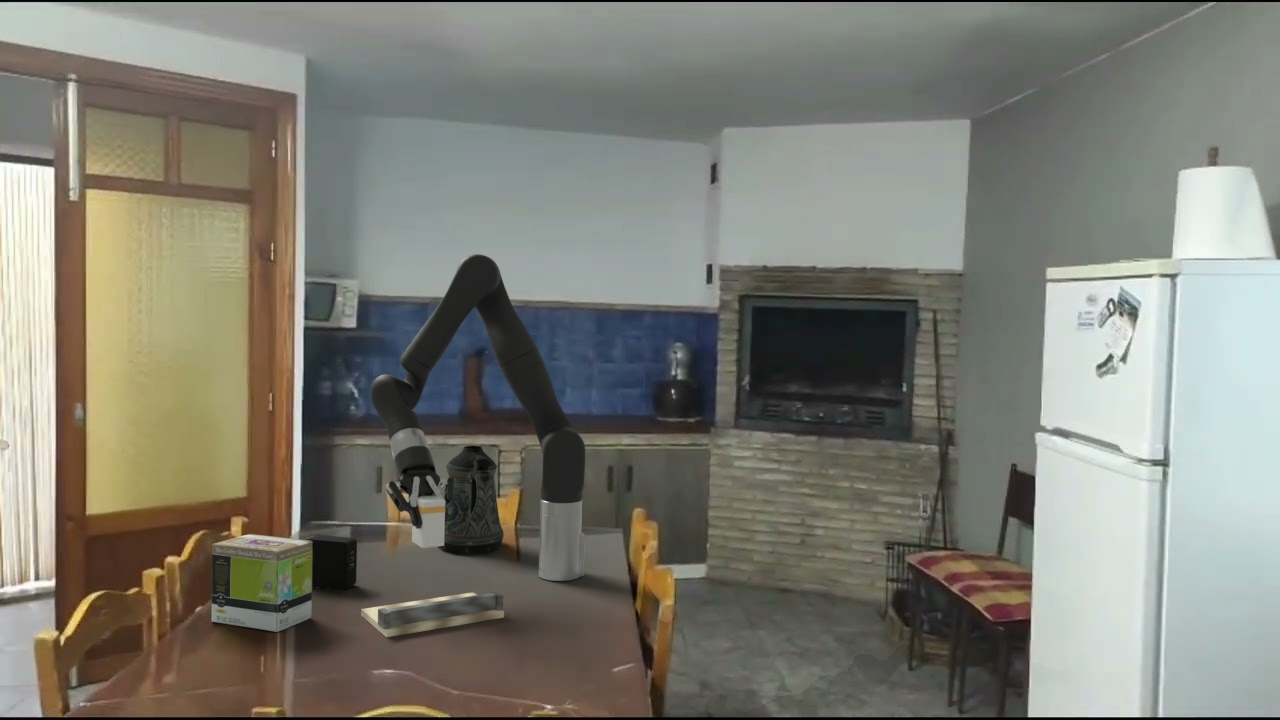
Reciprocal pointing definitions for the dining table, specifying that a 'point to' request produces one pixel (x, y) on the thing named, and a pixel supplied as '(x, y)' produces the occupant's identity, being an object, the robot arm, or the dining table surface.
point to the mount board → (428, 624)
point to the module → (430, 522)
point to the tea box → (262, 582)
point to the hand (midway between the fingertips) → (431, 524)
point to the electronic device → (333, 561)
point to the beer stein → (472, 505)
